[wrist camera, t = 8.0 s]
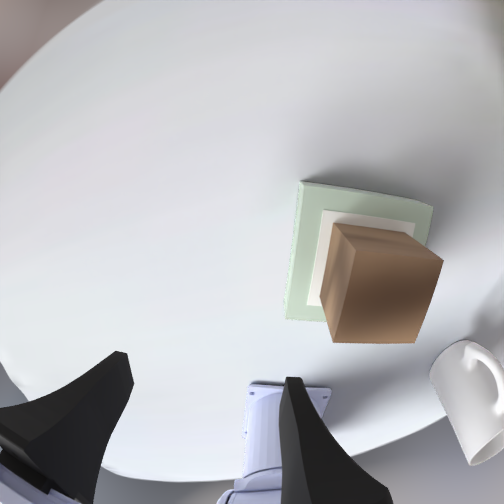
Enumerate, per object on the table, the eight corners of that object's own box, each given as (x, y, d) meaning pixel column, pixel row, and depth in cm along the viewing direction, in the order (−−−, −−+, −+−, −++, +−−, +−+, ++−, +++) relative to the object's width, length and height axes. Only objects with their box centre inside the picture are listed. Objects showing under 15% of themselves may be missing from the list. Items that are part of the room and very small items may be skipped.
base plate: (390, 308, 21) (401, 325, 19) (283, 301, 22) (285, 320, 19) (417, 200, 18) (434, 207, 16) (299, 181, 19) (304, 185, 16)
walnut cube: (386, 301, 18) (414, 343, 14) (319, 296, 19) (332, 342, 14) (404, 232, 17) (443, 260, 12) (332, 222, 17) (355, 250, 12)
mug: (472, 370, 24) (516, 440, 13) (425, 393, 25) (461, 474, 14) (481, 302, 21) (551, 375, 10) (427, 328, 22) (489, 422, 11)
